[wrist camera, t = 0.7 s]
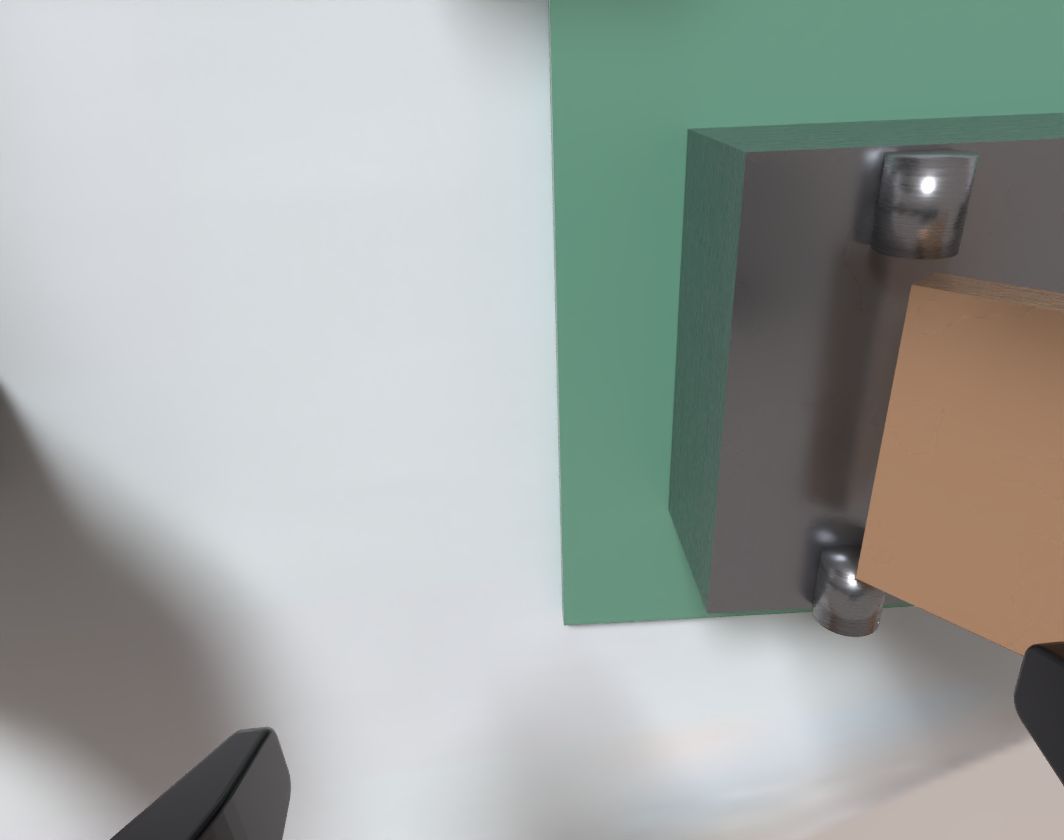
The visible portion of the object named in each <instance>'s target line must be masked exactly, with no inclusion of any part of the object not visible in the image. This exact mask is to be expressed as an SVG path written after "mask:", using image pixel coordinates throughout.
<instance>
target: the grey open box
mask: <svg viewBox="0 0 1064 840" xmlns="http://www.w3.org/2000/svg"><path fill="white" fill-rule="evenodd" d="M937 272H938V273H944V274H950V275H956V276H962V277H968V278H974V279H980V280H986V281H993V282H999V283H1005V284H1011V285H1017V286H1023V287H1029V288H1035V289H1041V290H1047V291H1053V292H1059V293H1064V113H1045V114H1021V115H998V116H974V117H951V118H927V119H904V120H880V121H857V122H834V123H810V124H787V125H763V126H740V127H716V128H693V129H688V131H687V151H686V170H685V190H684V209H683V228H682V248H681V267H680V287H679V306H678V326H677V345H676V365H675V384H674V404H673V423H672V443H671V462H670V482H669V501H668V510H669V513H670V515H671V518H672V521H673V523H674V526H675V529H676V531H677V534H678V537H679V540H680V542H681V545H682V548H683V550H684V553H685V556H686V558H687V561H688V564H689V566H690V569H691V572H692V575H693V577H694V580H695V583H696V585H697V588H698V591H699V593H700V596H701V599H702V601H703V604H704V607H705V610H706V612H707V614H711V613H729V612H747V611H765V610H783V609H802V608H812V613H813V615H814V617H815V619H816V620H817V621H818V622H819V623H820V624H821V625H822V626H824V627H825V628H827V629H828V630H830V631H832V632H835V633H837V634H841V635H845V636H852V637H860V636H866V635H869V634H871V633H873V632H874V631H875V630H876V629H877V628H878V625H879V621H880V617H881V612H882V607H883V604H892V603H908V602H906V601H904V600H901V599H899V598H897V597H895V596H893V595H891V594H888V593H886V592H884V591H882V590H880V589H878V588H875V587H873V586H871V585H869V584H867V583H865V582H863V581H860V580H858V579H856V574H857V569H858V564H859V559H860V553H861V548H862V543H863V538H864V532H865V527H866V522H867V517H868V511H869V506H870V501H871V496H872V490H873V485H874V480H875V475H876V469H877V464H878V459H879V454H880V448H881V443H882V438H883V433H884V427H885V422H886V417H887V412H888V406H889V401H890V396H891V390H892V385H893V380H894V375H895V369H896V364H897V359H898V354H899V348H900V343H901V338H902V333H903V327H904V322H905V317H906V312H907V306H908V301H909V296H910V291H911V285H912V284H914V283H916V282H918V281H920V280H922V279H925V278H927V277H929V276H931V275H933V274H935V273H937Z"/></svg>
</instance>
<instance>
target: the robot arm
mask: <svg viewBox="0 0 1064 840" xmlns="http://www.w3.org/2000/svg"><path fill="white" fill-rule="evenodd" d="M1014 703H1015V707H1016V711H1017V713H1018V715H1019V717H1020V719H1021V721H1022V723H1023V724H1024V726H1025V727H1026V729H1027V730H1028V732H1029V733H1030V735H1031V736H1032V738H1033V739H1034V741H1035V743H1036V744H1037V746H1038V747H1039V749H1040V750H1041V752H1042V753H1043V755H1044V756H1045V758H1046V759H1047V761H1048V762H1049V764H1050V766H1051V767H1052V769H1053V770H1054V772H1055V773H1056V775H1057V776H1058V778H1059V779H1060V781H1061V782H1062V784H1063V786H1064V642H1063V641H1058V642H1049V643H1039V644H1034V645H1031V646H1030V647H1029V648H1028V649H1027V650H1026V652H1025V654H1024V658H1023V662H1022V665H1021V669H1020V673H1019V676H1018V680H1017V684H1016V687H1015V691H1014ZM290 792H291V781H290V774H289V771H288V767H287V764H286V761H285V758H284V755H283V752H282V749H281V746H280V743H279V740H278V737H277V735H276V733H275V731H274V730H273V729H272V728H270V727H261V728H252V729H242V730H239V731H237V732H236V733H234V734H233V735H232V736H230V737H229V738H228V739H227V740H226V741H225V742H223V743H222V744H221V745H220V746H219V747H218V748H216V749H215V750H214V751H213V752H212V753H211V754H209V755H208V756H207V757H206V758H205V759H204V760H202V761H201V762H200V763H199V764H198V765H197V766H195V767H194V768H193V769H192V770H191V771H189V772H188V773H187V774H186V775H185V776H184V777H182V778H181V779H180V780H179V781H178V782H177V783H175V784H174V785H173V786H172V787H171V788H170V789H168V790H167V791H166V792H165V793H164V794H163V795H161V796H160V797H159V798H158V799H157V800H156V801H154V802H153V803H152V804H151V805H150V806H149V807H147V808H146V809H145V810H144V811H143V812H142V813H140V814H139V815H138V816H137V817H136V818H134V819H133V820H132V821H131V822H130V823H129V824H127V825H126V826H125V827H124V828H123V829H122V830H120V831H119V832H118V833H117V834H116V835H115V836H113V837H112V838H111V839H110V840H282V838H283V833H284V828H285V822H286V817H287V812H288V806H289V801H290Z"/></svg>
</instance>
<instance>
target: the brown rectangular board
mask: <svg viewBox="0 0 1064 840" xmlns="http://www.w3.org/2000/svg"><path fill="white" fill-rule="evenodd" d="M856 579H858V580H860V581H863V582H865V583H867V584H869V585H871V586H873V587H875V588H878V589H880V590H882V591H884V592H886V593H888V594H891V595H893V596H895V597H897V598H899V599H901V600H904V601H906V602H908V603H910V604H912V605H914V606H917V607H919V608H921V609H923V610H925V611H927V612H929V613H932V614H934V615H936V616H938V617H940V618H942V619H945V620H947V621H949V622H951V623H953V624H955V625H958V626H960V627H962V628H964V629H966V630H968V631H970V632H973V633H975V634H977V635H979V636H981V637H983V638H986V639H988V640H990V641H992V642H994V643H996V644H999V645H1001V646H1003V647H1005V648H1007V649H1009V650H1012V651H1014V652H1016V653H1018V654H1020V655H1022V656H1024V654H1025V652H1026V650H1027V649H1028V648H1029V647H1030V646H1031V645H1034V644H1039V643H1049V642H1058V641H1063V642H1064V293H1059V292H1053V291H1047V290H1041V289H1035V288H1029V287H1023V286H1017V285H1011V284H1005V283H999V282H993V281H986V280H980V279H974V278H968V277H962V276H956V275H950V274H944V273H938V272H937V273H935V274H933V275H931V276H929V277H927V278H925V279H922V280H920V281H918V282H916V283H914V284H912V285H911V291H910V296H909V301H908V306H907V312H906V317H905V322H904V327H903V333H902V338H901V343H900V348H899V354H898V359H897V364H896V369H895V375H894V380H893V385H892V390H891V396H890V401H889V406H888V412H887V417H886V422H885V427H884V433H883V438H882V443H881V448H880V454H879V459H878V464H877V469H876V475H875V480H874V485H873V490H872V496H871V501H870V506H869V511H868V517H867V522H866V527H865V532H864V538H863V543H862V548H861V553H860V559H859V564H858V569H857V574H856Z"/></svg>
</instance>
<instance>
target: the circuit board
mask: <svg viewBox="0 0 1064 840" xmlns="http://www.w3.org/2000/svg"><path fill="white" fill-rule="evenodd" d="M548 12H549V55H550V98H551V140H552V183H553V226H554V269H555V312H556V354H557V397H558V440H559V483H560V525H561V568H562V611H563V621H564V625H580V624H598V623H616V622H634V621H652V620H670V619H688V618H706V617H724V616H742V615H760V614H778V613H796V612H812V608H802V609H783V610H765V611H747V612H729V613H711V614H707V612H706V610H705V607H704V604H703V601H702V599H701V596H700V593H699V591H698V588H697V585H696V583H695V580H694V577H693V575H692V572H691V569H690V566H689V564H688V561H687V558H686V556H685V553H684V550H683V548H682V545H681V542H680V540H679V537H678V534H677V531H676V529H675V526H674V523H673V521H672V518H671V515H670V513H669V510H668V501H669V482H670V462H671V443H672V423H673V404H674V384H675V365H676V345H677V326H678V306H679V287H680V267H681V248H682V228H683V209H684V190H685V170H686V151H687V131H688V129H693V128H716V127H740V126H763V125H787V124H810V123H834V122H857V121H880V120H904V119H927V118H951V117H974V116H998V115H1021V114H1045V113H1064V0H548ZM904 606H914V605H912V604H910V603H892V604H883V607H882V608H886V607H904Z"/></svg>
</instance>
